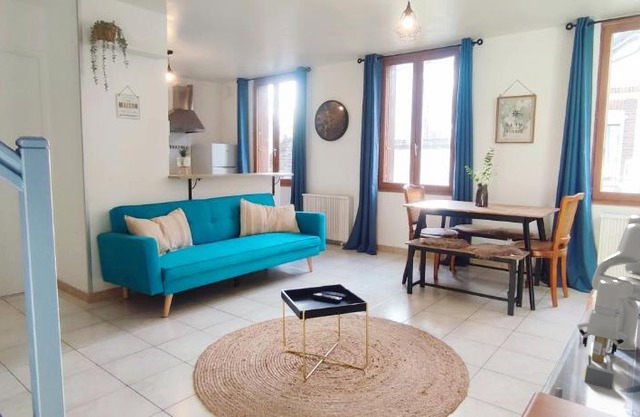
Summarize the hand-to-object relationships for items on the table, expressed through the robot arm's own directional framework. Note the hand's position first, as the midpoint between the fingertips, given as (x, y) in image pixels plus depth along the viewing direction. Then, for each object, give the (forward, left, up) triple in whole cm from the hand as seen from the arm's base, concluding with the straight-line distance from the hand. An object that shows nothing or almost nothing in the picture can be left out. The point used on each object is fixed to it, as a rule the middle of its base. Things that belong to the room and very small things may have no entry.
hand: (598, 349), depth 177 cm
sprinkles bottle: (0, 0, -5) cm, 5 cm away
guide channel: (+9, 0, -5) cm, 10 cm away
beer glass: (-12, +2, -5) cm, 14 cm away
